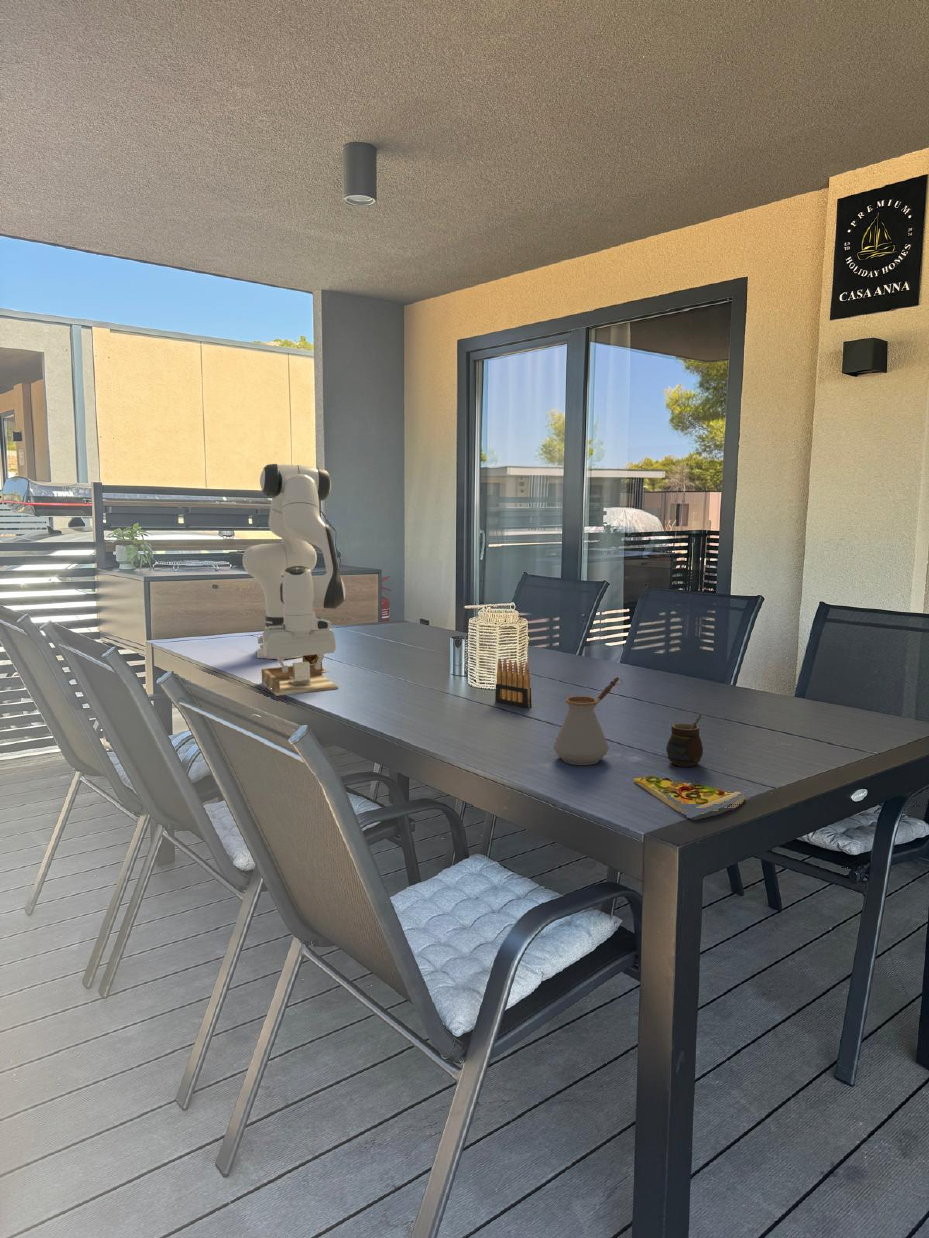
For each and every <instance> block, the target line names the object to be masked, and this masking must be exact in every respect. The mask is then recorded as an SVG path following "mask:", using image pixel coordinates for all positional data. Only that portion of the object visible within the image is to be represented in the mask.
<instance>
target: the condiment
mask: <svg viewBox="0 0 929 1238" xmlns="http://www.w3.org/2000/svg"><path fill="white" fill-rule="evenodd" d="M301 657H302V658H301V659H302V661H301V662H309V663H310V664H314V663H317V661H318V658H319V657H318V656H317V654H316V655H305V656H301ZM321 664H322V665H323V661H322V662H321ZM325 672H327V673H328V671H327V670H326V669H324V668H323V667H322V673H325Z"/></svg>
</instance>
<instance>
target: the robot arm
mask: <svg viewBox="0 0 929 1238" xmlns="http://www.w3.org/2000/svg"><path fill="white" fill-rule="evenodd" d="M259 477H260V478H259V485H260V486H259V487H260V488H261V492H262V493H263V494H264V495H265V496H267V497H270V498H271V502H270V506H269V507H270V508H269V516H268V522H267V524H268V529H269V530H270V532H271V533H272V534H273V535H275V536H277V537H279V538H281V542H278V543H260V544H256V545H252V546H249V547H247V548H245V551H244V552H243V555H242V566H243V568H244V571H246V573H247V574H248V575H250V576H251V577H253V579H254V580H256V581H257V582H258V584H259V585H260V587H261V589H262V592H263V595H264V601H265V613H266V615H265V616H264V617H265V618H264V626H265V628H264V630H263V632H262V635H260V636H259V637H257V644H259V647H258V648H257V647H256V658H257V659H270V660H272V659H273V660H277V662H278V664H279V665H280V667H282V672H283V673H287V672H288V665H285V663H284V661H285V660H287V659H296V658H301V657H302V656H305V655H316V654H317V656H318V657H319V658H318V661H317V663H314V669H315V670H317V669H321V666H320V663H321V662H322V663H323V660H324V658H325V654H334V653H335V651H336V649H337V645H336V642H337V641H336V637H335V633H334V631H333V630H332V622H331V621H330V620H328V619H325V618H321V617H319V616H316V612H315V609H330V610H332V609H333V610H335V609H338V607H340V606H341V605H343V603H344V602H345V599H346V587H345V583H344V580H343V578H342V575H341V572H340V566H339V561H338V559H339V558H338V555H337V551H336V545H335V542H334V538H333V532H332V530H331V528H330V526H329V525H328V524H326V523H324V521H323V520H322V518H321V514H320V502H321V501H325V500H326V499H328V497H329V495H330V493H331V491H332V481H331V476H330V474H329V472H328V471H327V470H326V469H323V468H319V467H316V468H315V467H311V466H307V465H301V464H297V465H296V464H277V463H269V464H266V465H265V466H263V469H262V471H261V473H260V476H259ZM311 544H312V545H314V546H316V547H318V548H319V550H321V551H322V555H323V561H324V566H325V570H326V573H325V574H323V575H318V574H317V575H312V571H313V569H315V567H316V564H317V561H318V558H317V557H318V555H317V551H316V550H315V548H314V547H313V546H312V545H311Z"/></svg>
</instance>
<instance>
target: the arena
mask: <svg viewBox="0 0 929 1238" xmlns="http://www.w3.org/2000/svg"><path fill="white" fill-rule="evenodd" d="M287 666H288V665H287ZM320 666H321V669H317V670H315V669H314V664H310V684H311V685H304V686H294V685H293V684H292V683H290V682H289V677H290V676H293V665H289V666H288V672H287V673H283V672H282V666H278V667H277V666H276V667H268V668H261V669H260V670H261V683H262V684H263V685H264V686H265V688H267V689H268V690H269V691H270V692H271V693H272V694H273V695H274V696H275V697H277V696H278V697H279V696H287V695H294V694H295V695H296V694H305V693H313V692H322V691H323V692H324V691H331V690H332V691H333V690H338V689H339V686H338V685H337V684H335V683H334V682H333V681H332V680H330V679H328V678H327V677H326V676H324V675H323V672H322V668H323V663H322V664H321V663H320ZM271 688H272V689H271Z"/></svg>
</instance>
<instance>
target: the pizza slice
mask: <svg viewBox="0 0 929 1238" xmlns="http://www.w3.org/2000/svg"><path fill="white" fill-rule="evenodd" d="M633 780H634V783H635V784H637V785H639V787H641V788H643V789H644V790H646V791H647V792H648V793H650V794H652V795H653V796H654V797H655V798H657V799H659V801H662V802H663V803H665V804H666V805H667V806H669V807H670V808H672V809H674V811H676V812H678V811H687V810H686V809H684V808H682V807H680V806H679V805H677V804H675V803H674V802H672V801H671V800H669V799H668V798H667V797H666V796H665V795H664V794H662V793H661V792H659V791H658V790H661V791H662V792H663V793H665V794H669V795H671V797H673V798H674V799H675V800H677V801H681V803H682V804H703V805H700V806H698V807H696V808H706V807H709V806H712V805H713V804H720V803H723V802H724V801H729V800H730V799H732V798H733V797H736V796H738V794H741V793H742V792H741V793H740V791H734V793H727V792H724V791H725V790H724V791H722V790H723V789H722V788H720V787H714V786H708V785H704V784H703V783H702V784H701V783H691V782H689V783H686V782H679V781H672V780H671V779H670V777H669V778H668V777H666V778H660V777H658V776H654V775H647V776H642V777H637V778H635V777H634V778H633ZM652 787H654V788H655V789H654V788H652ZM727 794H730V795H727ZM726 795H727V796H726ZM721 797H722V798H721ZM744 801H745V795H744V793H743V796H742V797H741V798H740V799H739V800H737V801H736V802H735V803H733V804H734V805H733V804H732V807H731V806H730V807H728V808H734V809H736V808H738V807H739V806H740V805H741V804H743V802H744ZM735 804H736V805H735ZM737 804H738V805H737ZM739 804H740V805H739ZM733 806H734V807H733ZM724 808H727V806H726V807H724ZM713 811H718V809H717V810H713ZM681 813H682V812H681ZM681 813H680V814H681ZM705 813H706V812H705ZM700 814H701V813H700ZM702 814H704V813H702Z"/></svg>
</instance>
